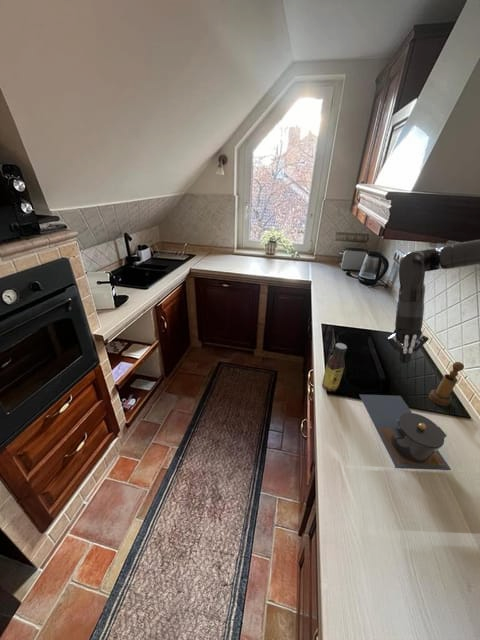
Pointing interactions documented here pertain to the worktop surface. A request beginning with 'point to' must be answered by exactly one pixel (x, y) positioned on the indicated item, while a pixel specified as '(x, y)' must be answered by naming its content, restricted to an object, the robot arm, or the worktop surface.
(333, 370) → the sauce bottle
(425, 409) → the worktop surface
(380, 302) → the worktop surface
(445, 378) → the wooden pepper mill
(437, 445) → the pot
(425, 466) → the mat
